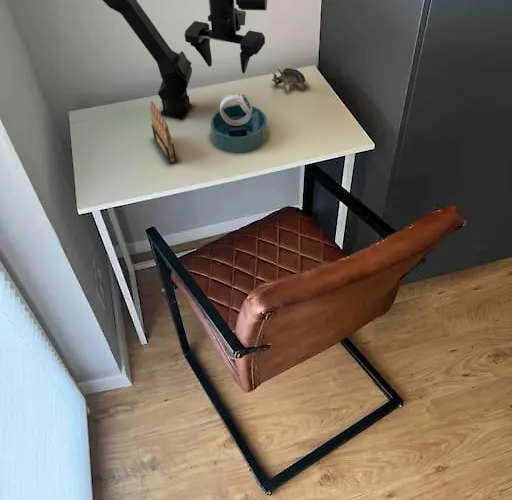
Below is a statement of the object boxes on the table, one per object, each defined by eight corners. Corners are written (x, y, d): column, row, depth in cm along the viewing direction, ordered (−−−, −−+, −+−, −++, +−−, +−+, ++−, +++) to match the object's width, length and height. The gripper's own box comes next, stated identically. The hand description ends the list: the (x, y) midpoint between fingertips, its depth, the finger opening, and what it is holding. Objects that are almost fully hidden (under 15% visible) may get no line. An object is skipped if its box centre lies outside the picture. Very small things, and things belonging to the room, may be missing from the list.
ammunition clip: (154, 140, 147) (146, 100, 138) (161, 138, 147) (153, 97, 138) (169, 164, 140) (162, 124, 131) (176, 162, 141) (169, 121, 132)
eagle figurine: (273, 94, 156) (306, 89, 154) (269, 67, 154) (303, 61, 153) (277, 94, 163) (308, 88, 162) (273, 67, 162) (305, 62, 160)
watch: (254, 138, 145) (253, 101, 137) (223, 141, 144) (219, 104, 136) (251, 124, 149) (250, 87, 140) (220, 128, 148) (217, 91, 140)
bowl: (203, 145, 145) (201, 131, 141) (225, 114, 153) (224, 99, 149) (254, 157, 141) (253, 143, 138) (274, 125, 149) (274, 110, 146)
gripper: (273, -2, 134) (273, 59, 146) (200, -13, 139) (207, 46, 151) (254, 21, 127) (257, 82, 139) (179, 8, 132) (188, 68, 144)
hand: (227, 69), depth 143 cm, fingers open, 9 cm apart
